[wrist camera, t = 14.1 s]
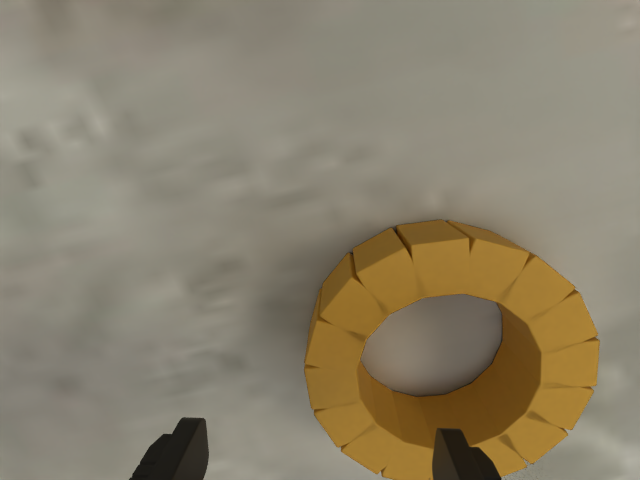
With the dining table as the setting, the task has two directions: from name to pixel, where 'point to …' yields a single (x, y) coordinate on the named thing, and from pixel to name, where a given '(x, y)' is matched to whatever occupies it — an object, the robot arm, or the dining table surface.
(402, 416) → the yellow segmented ring
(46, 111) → the dining table surface
